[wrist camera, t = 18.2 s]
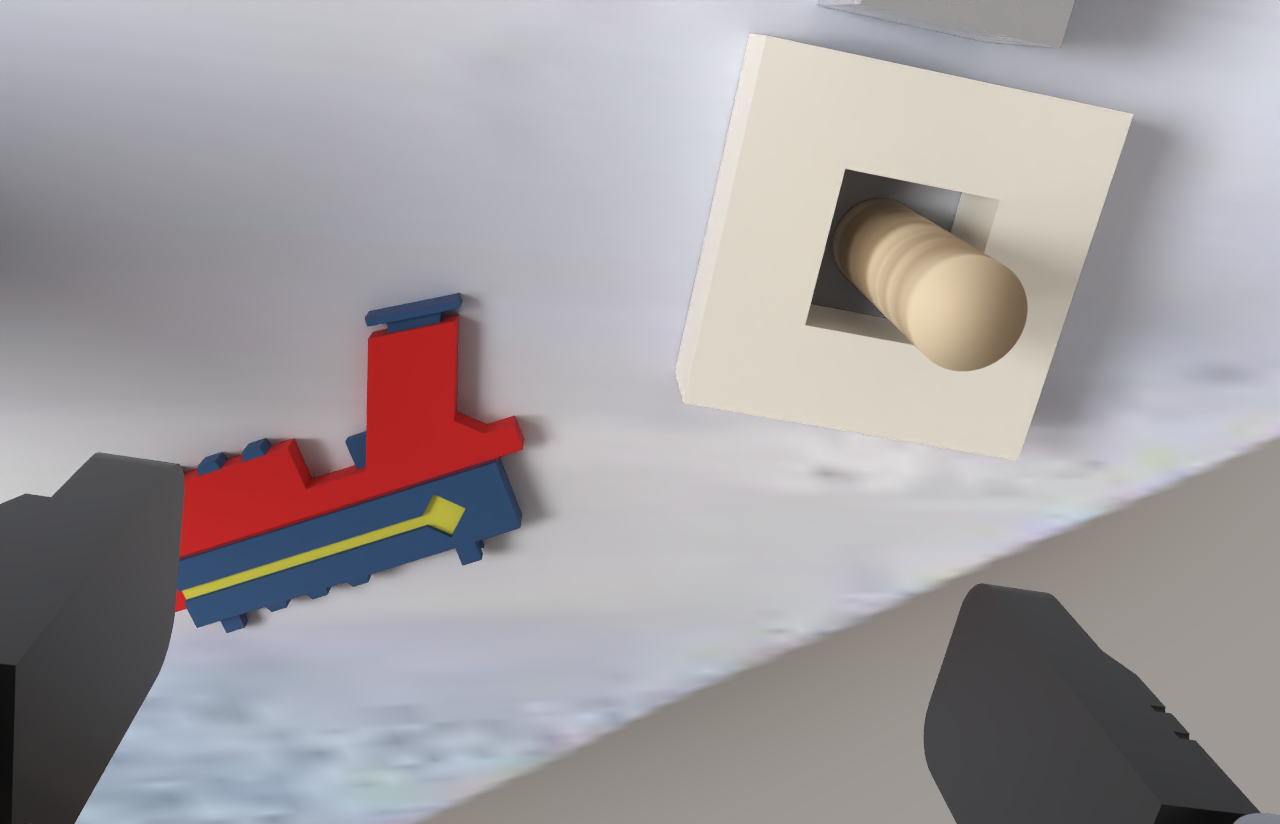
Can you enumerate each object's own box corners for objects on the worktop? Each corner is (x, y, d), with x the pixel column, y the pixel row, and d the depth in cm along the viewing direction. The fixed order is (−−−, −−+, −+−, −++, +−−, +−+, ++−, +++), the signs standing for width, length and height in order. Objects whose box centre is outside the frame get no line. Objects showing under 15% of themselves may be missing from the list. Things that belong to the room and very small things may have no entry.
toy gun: (86, 399, 41) (203, 629, 44) (68, 413, 39) (190, 650, 43) (465, 277, 40) (556, 520, 43) (461, 287, 39) (555, 537, 42)
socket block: (674, 371, 41) (683, 403, 38) (749, 33, 37) (766, 35, 34) (983, 426, 43) (1017, 461, 39) (1085, 105, 39) (1133, 114, 35)
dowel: (822, 278, 40) (897, 360, 31) (845, 190, 39) (930, 247, 30) (907, 294, 41) (1007, 380, 31) (932, 207, 40) (1043, 269, 30)
